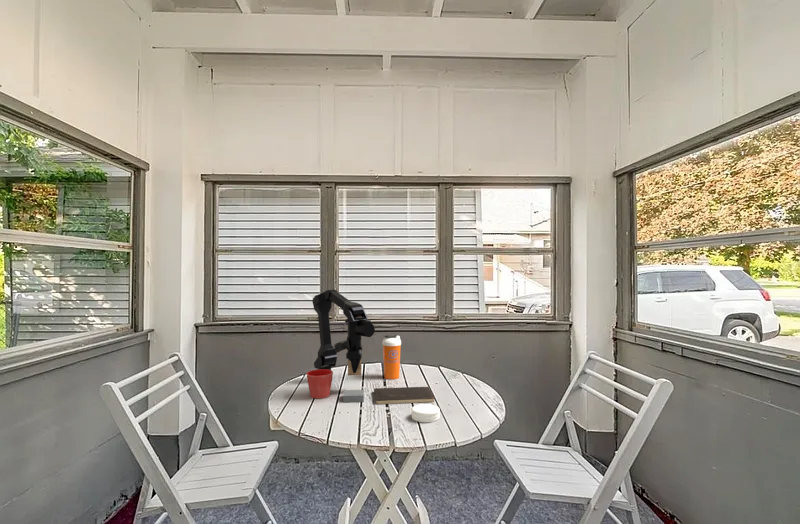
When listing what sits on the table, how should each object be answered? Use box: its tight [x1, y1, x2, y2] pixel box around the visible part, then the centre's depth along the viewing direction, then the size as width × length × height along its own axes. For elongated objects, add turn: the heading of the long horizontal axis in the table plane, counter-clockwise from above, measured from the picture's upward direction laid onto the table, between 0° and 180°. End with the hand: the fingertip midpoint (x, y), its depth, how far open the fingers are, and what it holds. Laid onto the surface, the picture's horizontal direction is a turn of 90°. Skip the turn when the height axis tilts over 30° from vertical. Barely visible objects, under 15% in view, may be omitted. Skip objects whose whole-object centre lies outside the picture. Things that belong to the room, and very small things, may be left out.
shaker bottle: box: [381, 333, 402, 380], centre depth 212 cm, size 9×9×20 cm
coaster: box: [411, 403, 441, 423], centre depth 159 cm, size 10×10×4 cm
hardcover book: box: [373, 386, 436, 405], centre depth 182 cm, size 16×23×2 cm
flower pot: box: [306, 369, 334, 400], centre depth 184 cm, size 11×11×10 cm
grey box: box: [342, 389, 365, 403], centre depth 180 cm, size 8×8×2 cm
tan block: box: [347, 359, 362, 376], centre depth 190 cm, size 6×6×6 cm
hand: (354, 371), depth 190 cm, fingers closed on tan block, 5 cm apart
